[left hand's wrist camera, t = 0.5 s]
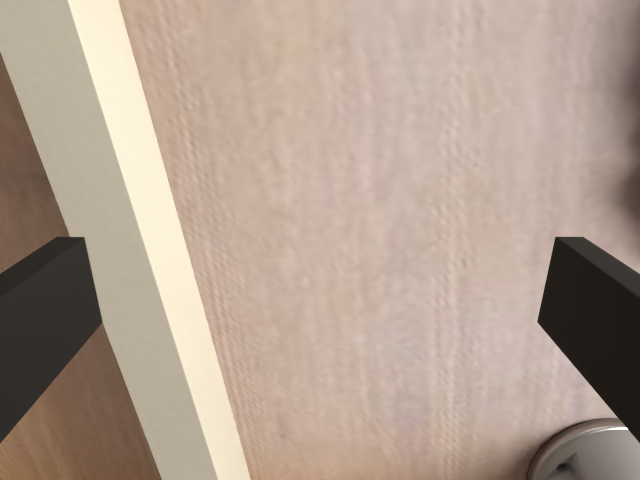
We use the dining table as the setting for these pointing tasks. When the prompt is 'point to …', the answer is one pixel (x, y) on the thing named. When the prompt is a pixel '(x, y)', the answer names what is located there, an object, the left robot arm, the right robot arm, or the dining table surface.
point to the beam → (123, 224)
